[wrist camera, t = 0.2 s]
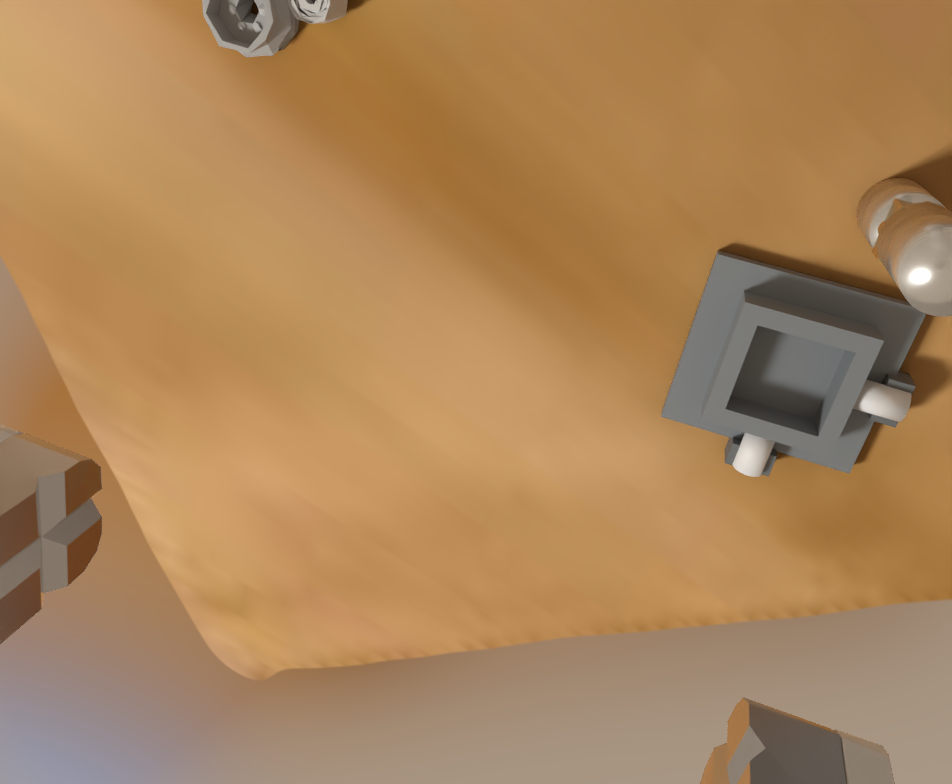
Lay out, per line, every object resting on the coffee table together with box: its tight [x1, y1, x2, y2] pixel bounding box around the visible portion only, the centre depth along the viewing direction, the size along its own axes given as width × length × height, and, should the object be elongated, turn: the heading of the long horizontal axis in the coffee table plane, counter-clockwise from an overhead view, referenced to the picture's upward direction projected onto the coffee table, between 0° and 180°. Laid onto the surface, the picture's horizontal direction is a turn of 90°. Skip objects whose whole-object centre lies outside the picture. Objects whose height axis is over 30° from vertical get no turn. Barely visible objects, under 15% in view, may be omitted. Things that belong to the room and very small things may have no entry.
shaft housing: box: [661, 250, 926, 477], centre depth 54 cm, size 14×14×4 cm
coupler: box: [857, 178, 952, 316], centre depth 44 cm, size 4×4×14 cm
